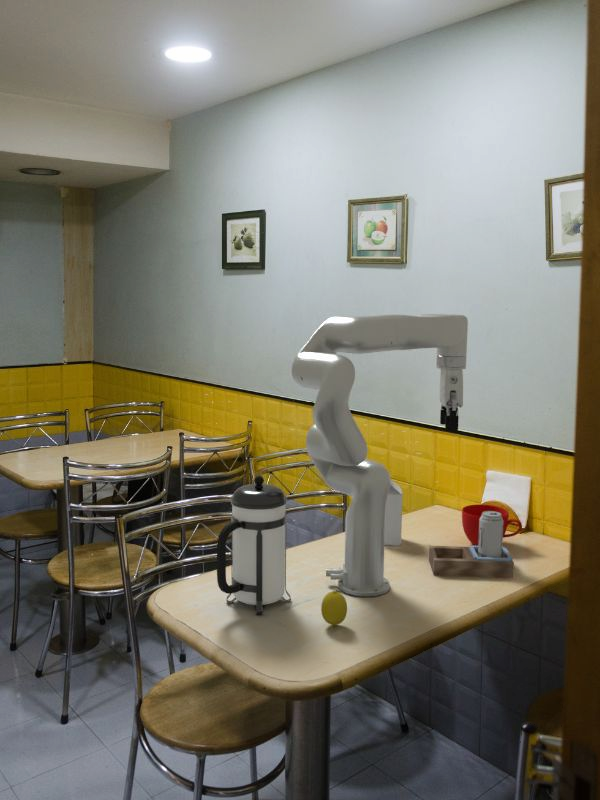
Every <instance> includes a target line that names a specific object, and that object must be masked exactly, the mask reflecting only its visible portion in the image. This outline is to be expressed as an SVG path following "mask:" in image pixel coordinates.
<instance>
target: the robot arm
mask: <svg viewBox="0 0 600 800" xmlns="http://www.w3.org/2000/svg"><path fill="white" fill-rule="evenodd" d="M468 325H469V321H468V317H467V316H465V315H463V314H443V313H442V314H438V313H423V314H422V313H421V314H419V315H406V314H383V315H368V316H366V315H365V316H344V315H343V316H341V315H340V316H339V315H334V316H331V317H329V318H327V319H326V320H324V322H322V323H321V325H320V326H318V328H317V329H316V330H315V331H314V332H313V334H312V335H311V336H310V337H309V338H308V340H307V341H306V343H305V344H304V345H303V346H302V348H301V349H300V350H299V351H298V353H296V355H295V357H294V359H293V362H292V364H291V376H292V379H293V380H294V381H295V383H296V384H298V385H299V386H300V387H302V388H307V389H313V390H318V393H317V395H316V398H315V401H314V405H313V407H312V419H313V422H314V423H313V424H312V426H310V427H309V429H308V430H307V434H306V437H305V446H306V451H307V454H308V457H309V458H310V459H311V460H310V461H312V462H313V464H314V466H315V468H316V469H317V472H318V473H319V475H320V476H321V478H322V479H323V481H324V483H325V484H326V485H327V486H328V487H329V488H330V489H331V490H333V491H335V492H338V493H342V494H344V495H347V496H349V497H352V500H351V502H350V504H349V506H348V508H347V510H346V513H345V522H344V523H345V524H344V525H345V531H344V564H343V565H342V567H339V568H336V569H335V568H325V570H326V571H325V576H326V577H330V580H334V581H335V580H338V581H337V587H338V588H339V590H340V591H342V592H344V594H347V595H351V596H356V597H367V598H368V597H377V596H381V595H384V594H385V593H387V592H388V591H389V590H390V589H391V587H390V585H391V582H390V581H389V580H388V579H387V578H385V577H384V576H385V571H384V570H385V545H384V542H385V511H386V502H387V497H388V493H389V489H390V482H391V480H392V479H391V474H390V472H389V471H388V469H387V468H386V467H385V466H384V465H383V464H381V463H380V462H378V461H376V460H372V459H368V458H367V456H368V451H369V450H368V444H367V440H366V439H365V437H364V434H363V433H362V431H361V429H360V428H359V425H358V424H357V422H356V420H355V418H354V417H353V414H352V412H351V410H350V407H349V406H350V405H349V399H350V395H351V391H352V389H353V386H354V382H355V380H356V369H355V366H354V363H353V361H352V360H350V358H349V357H347V356H345V355H342V354H337V353H343V354H346V353H347V354H355V355H360V354H361V355H362V354H363V355H364V354H371V353H379V352H380V353H381V352H390V351H411V350H418V349H419V350H421V349H436V369H438V370H439V369H440V372H439V373H440V375H439V379H440V380H439V403H441V405H440V418H439V421H440V422H439V423H440V425H444V430H445V432H458V431H459V408H462V407H463V406H464V372H463V370H466V369H467V354H468V353H467V351H468V349H467V348H468V329H469V328H468ZM390 479H391V480H390Z"/></svg>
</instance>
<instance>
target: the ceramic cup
mask: <svg viewBox="0 0 600 800" xmlns="http://www.w3.org/2000/svg"><path fill="white" fill-rule="evenodd" d="M484 511H495V512H499V513H501V517H502V519H503V539H504V538H511V537H515V536H516V535H518V534H519V533H520V532H521V531H522V527H523V524H522V522H521V521H520V520H519V519H517V518H511V519H509V515H510V514H509V511H508V510H507V509H505V508H503V507H500V506H496V505H493V504H492V505H491V504H471V505H470V504H469V505H466V506H465V505H464V507H463V508H461V522H462V529H463V532H464V534H465V536H466V539H468V541H469V542H470V543H471V546H478V542H479V519H480V517H481V516H482V512H484ZM511 523H517V524H518V529H517V530H516V531H514V532H512V533H507V534H506V532H507V529H508V526H509V525H510V524H511Z"/></svg>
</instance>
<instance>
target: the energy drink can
mask: <svg viewBox="0 0 600 800" xmlns="http://www.w3.org/2000/svg"><path fill="white" fill-rule="evenodd" d="M503 539H504V538H503V519H502V517H501V513H499V512H495V511H484V512H482V516H481V517H480V519H479V542H478V557H495V558H502V546H503Z"/></svg>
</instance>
